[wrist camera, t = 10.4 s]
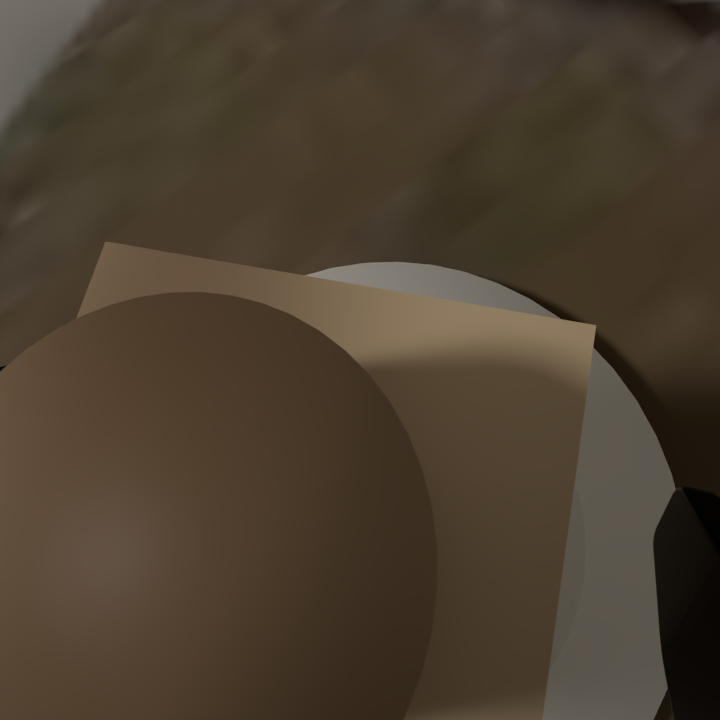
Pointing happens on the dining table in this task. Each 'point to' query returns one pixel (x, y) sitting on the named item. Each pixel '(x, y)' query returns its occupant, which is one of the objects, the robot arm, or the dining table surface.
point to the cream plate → (585, 523)
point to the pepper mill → (283, 500)
